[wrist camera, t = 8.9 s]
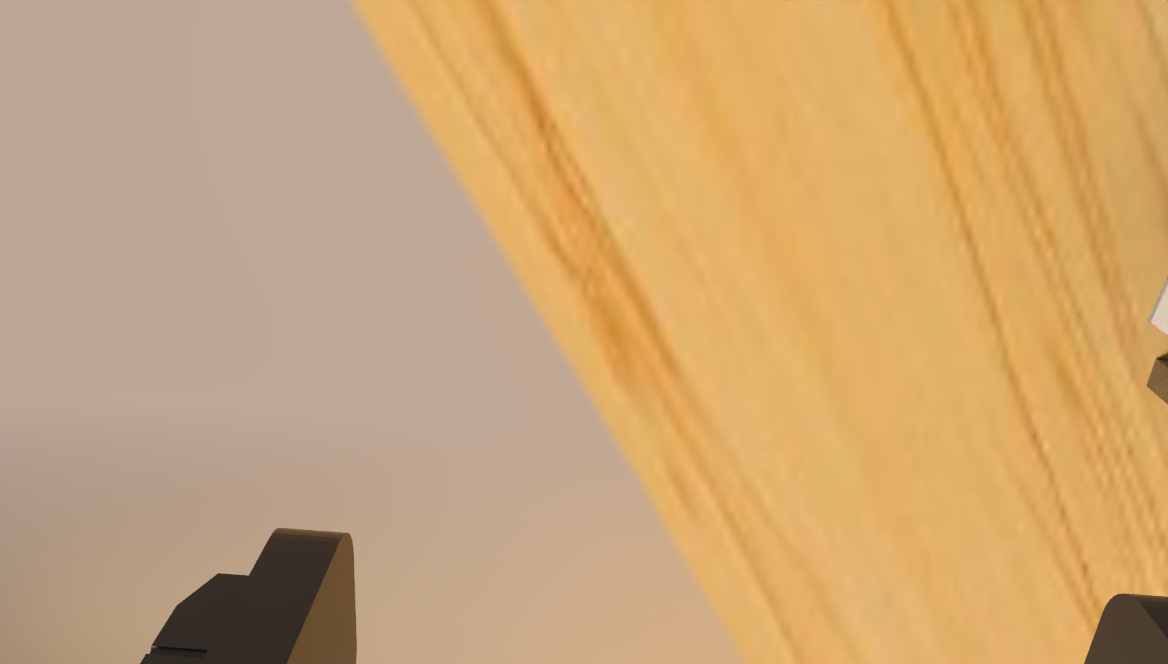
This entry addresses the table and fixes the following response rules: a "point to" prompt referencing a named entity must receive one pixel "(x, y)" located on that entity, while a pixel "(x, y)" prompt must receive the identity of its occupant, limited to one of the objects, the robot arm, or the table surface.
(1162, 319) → the circuit breaker
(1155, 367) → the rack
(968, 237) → the table surface
